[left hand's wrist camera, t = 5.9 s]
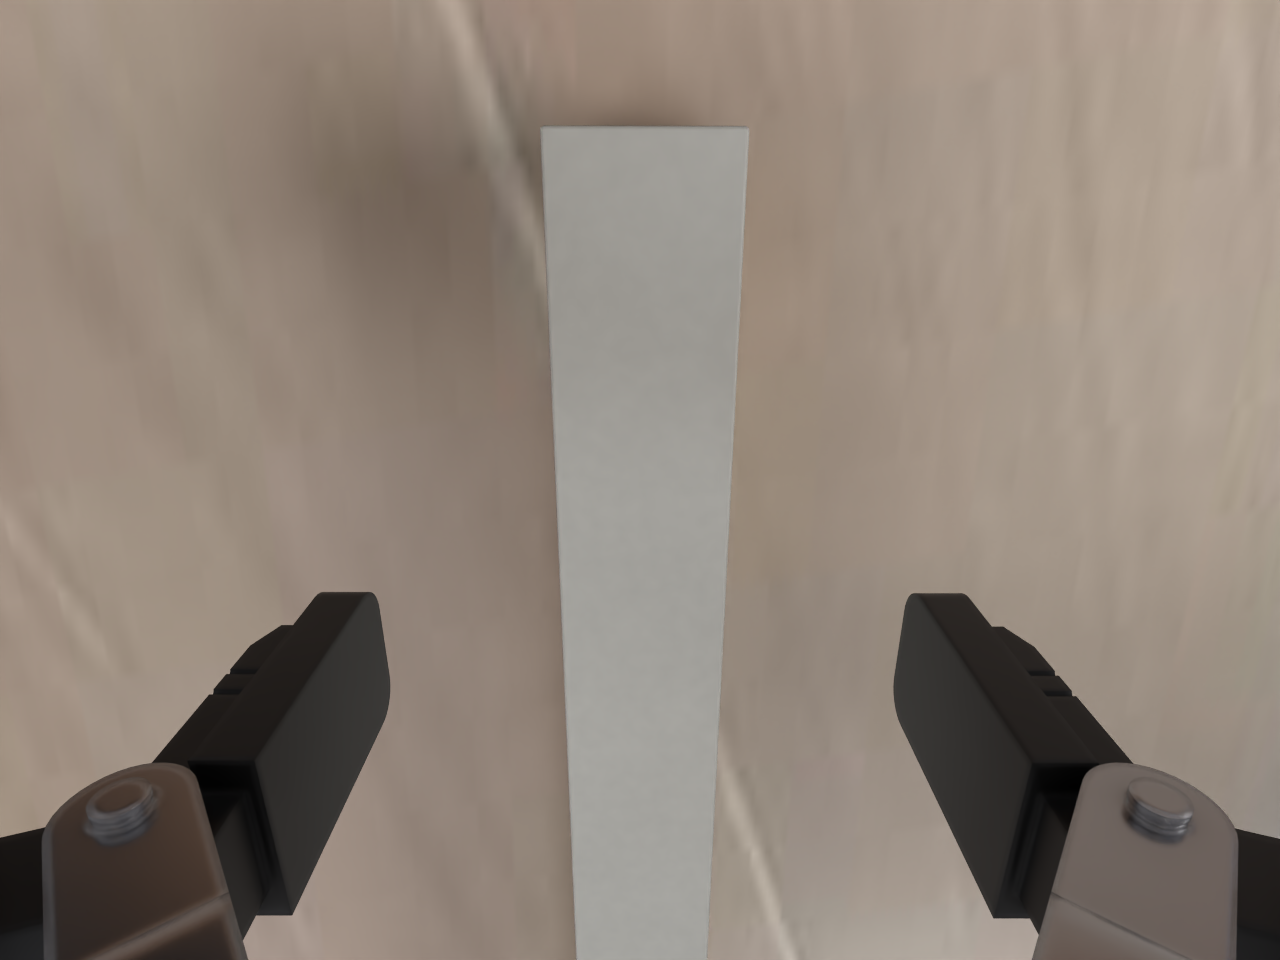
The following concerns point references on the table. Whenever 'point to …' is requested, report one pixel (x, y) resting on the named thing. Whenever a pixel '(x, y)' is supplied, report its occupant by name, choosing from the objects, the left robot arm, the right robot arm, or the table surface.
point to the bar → (643, 510)
